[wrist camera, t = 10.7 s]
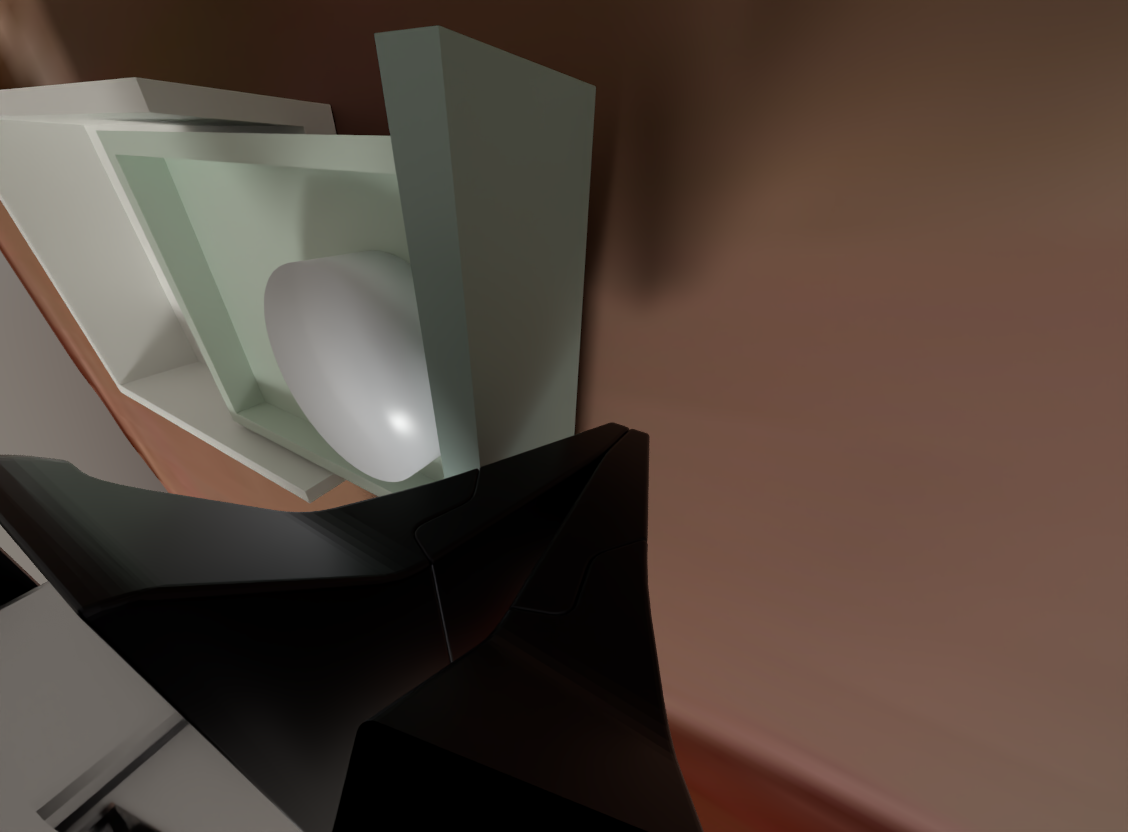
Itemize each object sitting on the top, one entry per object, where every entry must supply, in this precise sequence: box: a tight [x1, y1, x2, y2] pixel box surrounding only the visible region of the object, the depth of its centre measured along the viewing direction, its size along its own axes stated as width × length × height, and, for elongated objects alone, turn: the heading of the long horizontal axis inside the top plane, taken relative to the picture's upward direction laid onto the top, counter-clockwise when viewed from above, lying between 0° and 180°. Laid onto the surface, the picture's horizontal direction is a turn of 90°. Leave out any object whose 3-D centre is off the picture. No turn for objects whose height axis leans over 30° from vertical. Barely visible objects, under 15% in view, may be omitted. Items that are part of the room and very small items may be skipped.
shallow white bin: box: [0, 77, 346, 503], centre depth 17 cm, size 12×16×4 cm
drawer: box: [95, 25, 596, 497], centre depth 12 cm, size 12×16×4 cm
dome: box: [264, 250, 441, 482], centre depth 11 cm, size 6×6×2 cm
